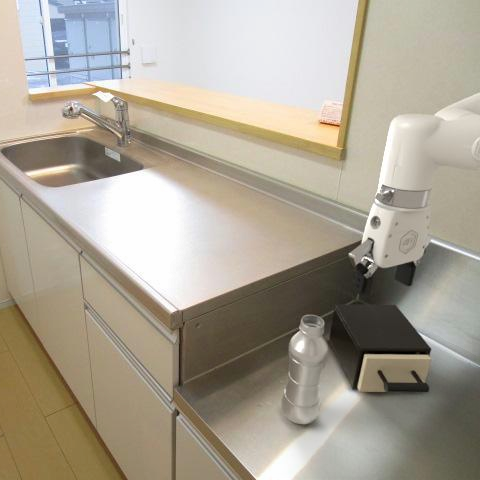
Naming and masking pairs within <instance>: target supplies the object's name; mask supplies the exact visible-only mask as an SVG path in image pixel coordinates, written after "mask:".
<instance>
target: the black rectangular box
mask: <svg viewBox="0 0 480 480" xmlns="http://www.w3.org/2000/svg"><path fill="white" fill-rule="evenodd" d="M328 343H329V345H330V347H331V349H332V351H333V354H334V356H335V357H336V360H337V362H338V364H339V365H340V367H341V369H342V372H343V373H344V376H345V377H346V380H347V381H348V384H349V386H350V388H351V389H352V390H358V388H357V386H358V382H359V381H358V379H359V374H360V369H361V365H362V360H363V355H364V352H420V354H419V355H429V356H431V352H432V348H431V347H430V345H429V344H428V343H427V342H426V340H425V339H424V338H423V336H422V335H421V334H420V333H419V332H418V331H417V329H416V328H415V326H414V325H412V323H411V322H410V321H409V319H408V318H407V317H406V316H405V314H404V313H403V312H402V311H401V310H400V308H399V307H398V306H397V304H334V307H333V315H332V319H331V326H330V332H329V338H328Z"/></svg>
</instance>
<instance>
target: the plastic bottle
mask: <svg viewBox="0 0 480 480" xmlns="http://www.w3.org/2000/svg"><path fill="white" fill-rule="evenodd" d="M298 327H299V328H298V330H299V331H297V332H296V333H295V334H294V335H293V336H292V337H291V339H290V341H289V343H288V363H289V364H288V376H287V381H286V385H285V388H284V391H283V394H282V397H281V409H282V412H283V414H284V415H285V417H286V418H287V419H288V420H289V421H290V422H292V423H295V424H297V425H308V424H310V423H312V422H314V421H315V420H316V419H317V418H318V415H319V413H320V409H321V398H320V393H321V391H320V389H321V381H322V377H323V373H324V369H325V367H326V364H327V361H328V359H329V354H330V349H329V344H328V342H327V340H326V339H325V337H324V334H325V321H324V319H323V318H321V317H320V316H319V315H315V314H306V315H303V316H302V317H301V319H300V324H299V326H298Z"/></svg>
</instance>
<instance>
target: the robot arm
mask: <svg viewBox="0 0 480 480" xmlns="http://www.w3.org/2000/svg"><path fill="white" fill-rule="evenodd" d="M440 166H441V167H448V168H456V169H461V170H469V171H479V170H480V92H478V93H475V94H472V95H470V96H468V97H465V98H463V99H461V100H458V101H457V102H454V103H451V104H450V105H447V106H445V107H444V108H442V109H440V110H439V111H437V112H436V113H434V114H425V113H403V114H398V115H397V116H395V117H394V118H393V119H392V120H391V121H390V123H389V128H388V133H387V138H386V143H385V149H384V153H383V159H382V165H381V169H380V175H379V179H378V185H377V188H376V189H377V190H376V193H375V199H374V201H375V202H373V204H372V206H371V209H370V211H369V215H368V218H367V220H366V224H365V227H364V231H363V235H362V238H361V243H360V244H359V245H358V246H357V247H355V248H354V249H352V250H351V251H350V252H349V253H348V259H349V263H350V267H351V268H352V269H353V271H354V272H355V276H354V280H353V286H352V291H353V292H355V293H356V294H357V295H359V296H360V297H362V298H364V299H368V298H370V296H371V293H372V288H373V283H374V277H373V276H372V275H373V274H374V273H375V272H376V271H377V269H378V268H382V269H388V268H391V267H396V269H395V274H394V277H393V279H394V280H395V281H397V282H399V283H400V284H402V285H404V286H406V287H412V285H413V281H414V277H415V275H416V271H417V266H419V264H420V263H421V258H422V257H423V256H424V254H425V253H426V251H427V247H428V246H429V244H430V243H431V241H432V237H431V236H429V229H430V221H431V203H430V199H431V195H432V191H433V188H434V183H435V179H436V174H437V171H438V167H440ZM368 262H369V263H370V265H369V266H368V267H366V266H365V265H366V264H368Z"/></svg>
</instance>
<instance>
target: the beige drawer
mask: <svg viewBox="0 0 480 480" xmlns="http://www.w3.org/2000/svg"><path fill="white" fill-rule="evenodd" d="M419 354H420V352H364V355H363V360H362V365H361V369H360V374H359V379H358V381H359V382H358V386H357V388H358V389H357V390H358V392H361V393H368V392H369V393H429V392H430V385H429V384H428V383H427V382H426V379H427V376H428V373H429V369H430V365H431V363H432V358H431V355H419Z"/></svg>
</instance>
